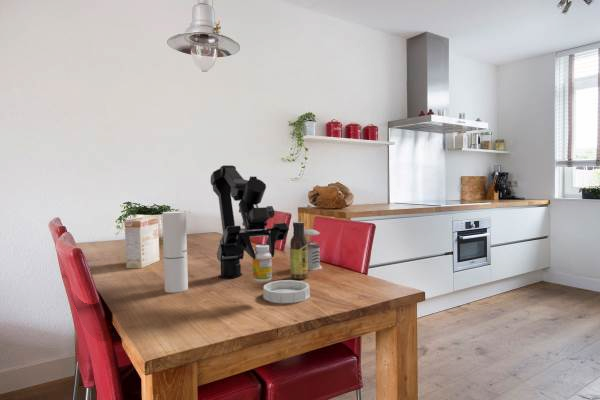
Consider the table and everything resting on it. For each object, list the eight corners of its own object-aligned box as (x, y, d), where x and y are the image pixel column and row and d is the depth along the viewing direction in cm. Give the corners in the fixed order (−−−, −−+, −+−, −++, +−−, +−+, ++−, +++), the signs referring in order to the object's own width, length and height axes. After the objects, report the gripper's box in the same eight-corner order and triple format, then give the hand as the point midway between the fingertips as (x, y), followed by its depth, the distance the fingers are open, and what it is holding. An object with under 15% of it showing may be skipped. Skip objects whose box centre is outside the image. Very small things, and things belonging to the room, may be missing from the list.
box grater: (326, 266, 155) (326, 204, 153) (312, 272, 145) (311, 206, 143) (305, 263, 160) (305, 203, 158) (290, 269, 150) (289, 205, 149)
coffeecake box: (145, 260, 170) (143, 216, 169) (160, 260, 169) (158, 216, 168) (125, 268, 156) (123, 220, 154) (141, 268, 155) (140, 220, 154)
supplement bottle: (251, 277, 112) (251, 244, 112) (269, 276, 114) (269, 243, 113) (254, 282, 107) (254, 247, 107) (273, 280, 109) (273, 246, 108)
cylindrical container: (192, 287, 127) (190, 211, 125) (178, 293, 120) (176, 213, 119) (174, 285, 129) (172, 211, 128) (159, 291, 122) (157, 213, 121)
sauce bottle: (306, 280, 134) (305, 223, 133) (288, 279, 135) (287, 223, 134) (309, 275, 140) (308, 221, 139) (292, 275, 141) (291, 221, 140)
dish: (254, 299, 113) (254, 289, 113) (277, 287, 125) (277, 278, 125) (297, 306, 107) (297, 295, 107) (317, 292, 119) (317, 282, 119)
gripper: (225, 198, 109) (237, 243, 99) (286, 196, 117) (302, 237, 107) (219, 222, 116) (229, 266, 107) (276, 219, 124) (290, 259, 115)
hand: (263, 257), depth 109 cm, fingers closed on supplement bottle, 5 cm apart
